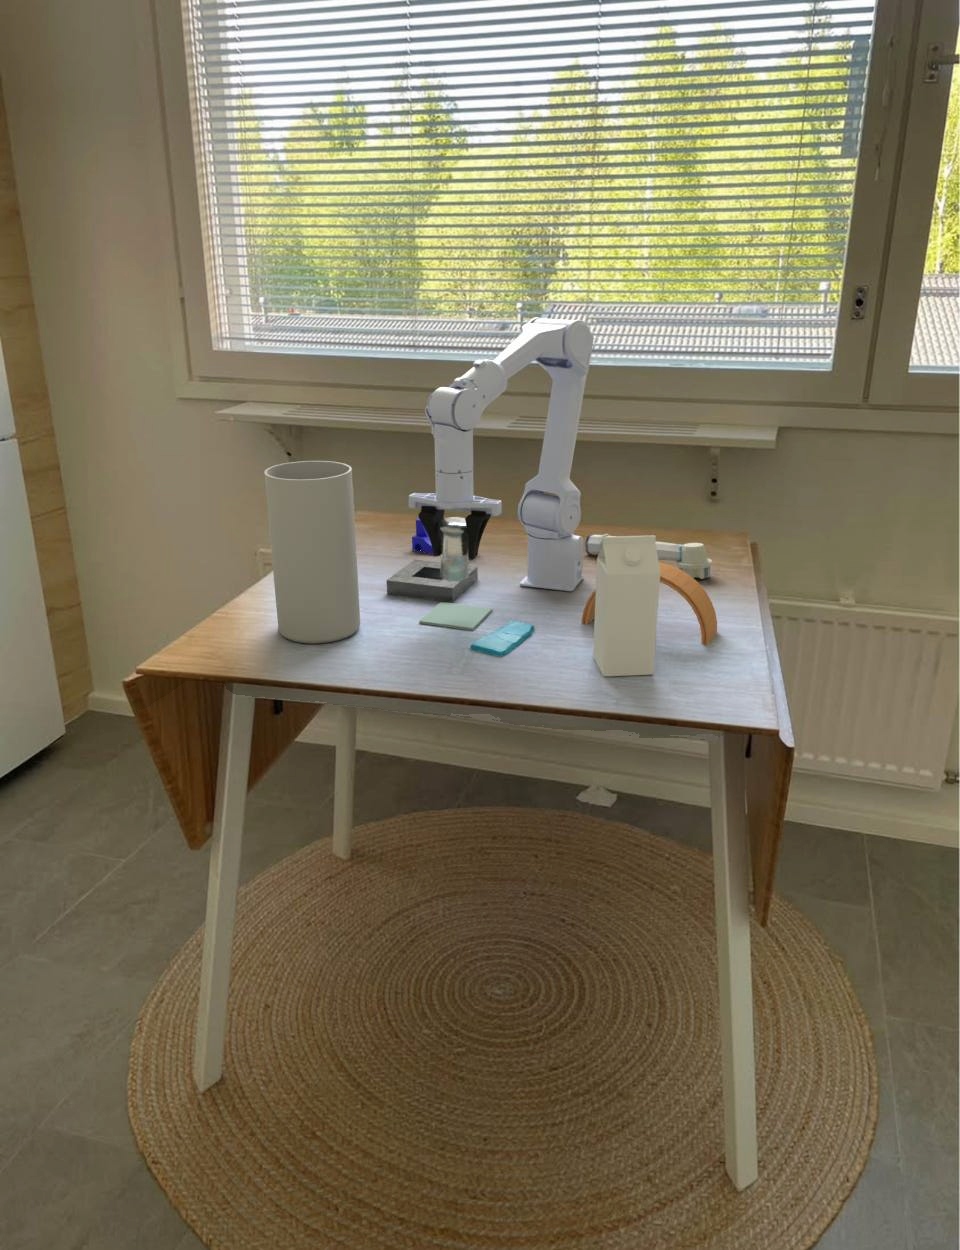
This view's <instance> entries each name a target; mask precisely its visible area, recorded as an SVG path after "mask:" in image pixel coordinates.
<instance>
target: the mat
mask: <svg viewBox="0 0 960 1250" xmlns="http://www.w3.org/2000/svg"><path fill="white" fill-rule="evenodd" d="M492 612H493V608H492V607H486V606H485V607H483V606H477V605H476V606H475V605H468V604H460V603H454V602H446V601H440V602H439V603H438V604H436V606H435V607H434V608H432V609H431V610H430V611H429V612H428V613H427V614H425V616H423V617H422V618H421V619H420V620H419V624H423V625H430V626H437V627H442V628H443V627H446V628H450V629H451V628H452V629H459V630H467V631H474V630H475V629H476V628H477V627H478V626H479V625H480V624H481V623H482V622H483V621H484V620H485V619H486V618H487V617H488V616H489V615H490V614H491V613H492Z"/></svg>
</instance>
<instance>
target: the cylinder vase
mask: <svg viewBox="0 0 960 1250" xmlns="http://www.w3.org/2000/svg"><path fill="white" fill-rule="evenodd" d="M263 473H264V482H265V483H264V485H265V493H266V495H265V496H266V504H267V505H266V507H267V516H268V526H269V527H268V529H269V539H270V551H271V560H272V561H271V562H272V572H273V573H272V574H273V584H274V594H275V595H274V596H275V604H276V605H275V606H276V616H277V629H278V631H279V633H280V635H281V636H283V637H284V638H286V639H287V640H289V641H292V642H296V643H301V644H314V645H315V644H327V643H332V642H337V641H340V640H344V639H346V638H348V637H350V636H352V635H354V634H355V633H356V632H357V631H358V630H359V628H360V625H361V612H360V593H359V591H360V590H359V575H358V557H357V554H358V553H357V537H356V524H355V522H356V521H355V519H356V518H355V503H354V500H355V499H354V486H353V483H354V482H353V468H352V466H351V465H348V464H347V463H343V462H339V461H338V462H337V461H330V460H303V461H294V462H293V461H292V462H285V463H281V464H276V465H273V466H269V467H268V468H266V469H265V470H264V472H263Z"/></svg>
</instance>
